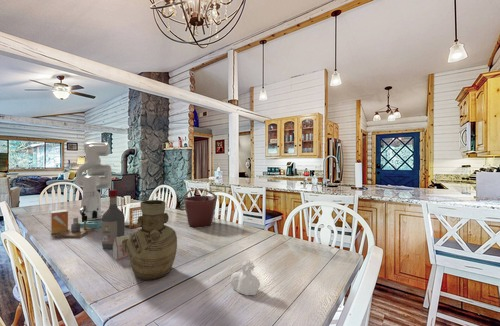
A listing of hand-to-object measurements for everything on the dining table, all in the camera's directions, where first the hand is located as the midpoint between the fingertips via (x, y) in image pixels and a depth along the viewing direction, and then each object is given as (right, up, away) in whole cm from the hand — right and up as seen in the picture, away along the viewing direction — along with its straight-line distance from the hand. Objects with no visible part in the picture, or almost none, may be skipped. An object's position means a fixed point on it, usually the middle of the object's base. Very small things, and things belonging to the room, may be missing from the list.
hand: (89, 220), depth 156 cm
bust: (+106, -9, -71) cm, 128 cm away
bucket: (+71, -6, +11) cm, 73 cm away
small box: (-13, -5, -9) cm, 17 cm away
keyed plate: (-1, -5, +1) cm, 5 cm away
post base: (0, -5, -13) cm, 14 cm away
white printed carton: (+46, -7, -44) cm, 64 cm away
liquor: (+34, -6, -31) cm, 47 cm away
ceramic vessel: (+67, -8, -60) cm, 90 cm away
